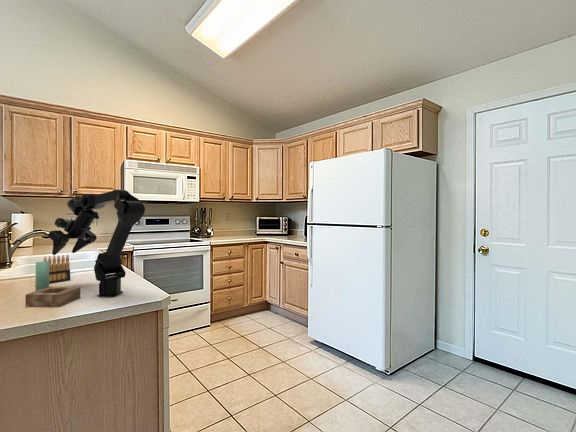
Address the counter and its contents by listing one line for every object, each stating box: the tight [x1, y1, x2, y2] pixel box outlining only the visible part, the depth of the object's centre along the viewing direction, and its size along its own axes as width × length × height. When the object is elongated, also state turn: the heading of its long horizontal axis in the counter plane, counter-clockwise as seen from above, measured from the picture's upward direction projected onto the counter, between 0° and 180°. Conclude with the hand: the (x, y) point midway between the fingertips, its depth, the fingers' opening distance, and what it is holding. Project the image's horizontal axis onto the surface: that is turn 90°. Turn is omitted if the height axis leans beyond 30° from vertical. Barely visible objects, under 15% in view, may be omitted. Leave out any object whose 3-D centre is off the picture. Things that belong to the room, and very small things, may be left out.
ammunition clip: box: [43, 253, 71, 285], centre depth 139 cm, size 11×2×12 cm, turn 152°
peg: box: [34, 260, 50, 292], centre depth 117 cm, size 4×4×12 cm
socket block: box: [25, 286, 81, 308], centre depth 109 cm, size 11×11×4 cm
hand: (63, 253), depth 129 cm, fingers open, 9 cm apart
